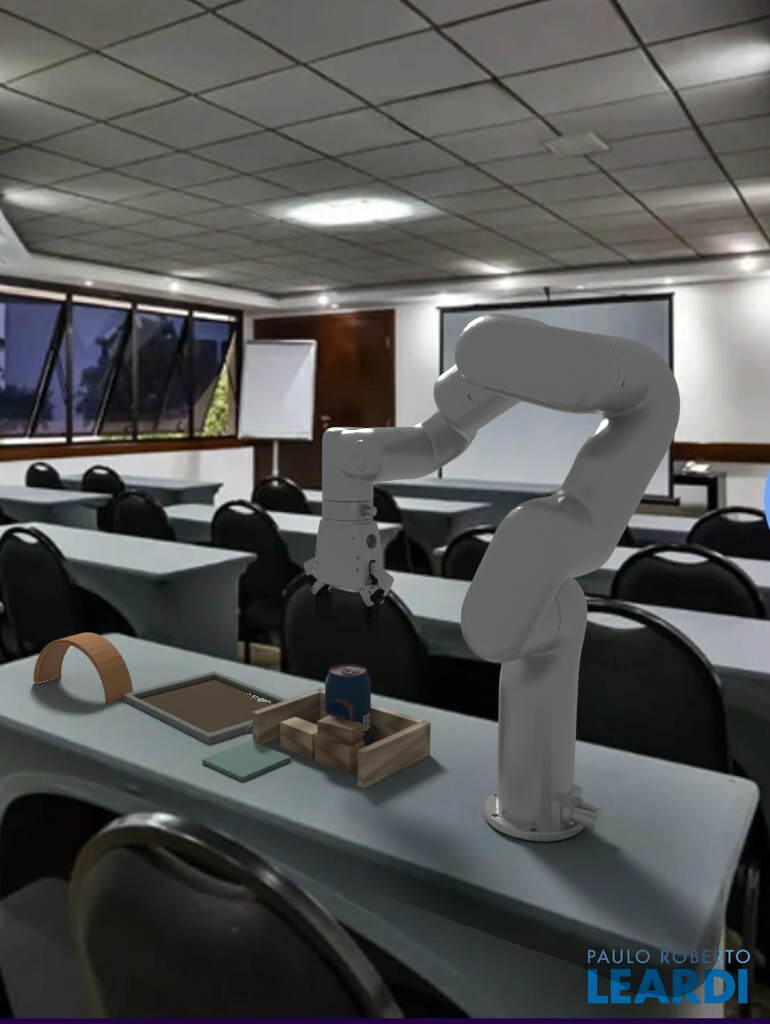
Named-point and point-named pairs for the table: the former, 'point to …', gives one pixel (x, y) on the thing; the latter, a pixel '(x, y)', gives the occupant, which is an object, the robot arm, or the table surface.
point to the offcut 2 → (337, 754)
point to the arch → (99, 654)
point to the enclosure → (393, 731)
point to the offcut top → (340, 730)
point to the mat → (246, 760)
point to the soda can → (349, 695)
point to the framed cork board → (204, 705)
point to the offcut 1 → (298, 736)
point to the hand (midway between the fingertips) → (346, 624)
